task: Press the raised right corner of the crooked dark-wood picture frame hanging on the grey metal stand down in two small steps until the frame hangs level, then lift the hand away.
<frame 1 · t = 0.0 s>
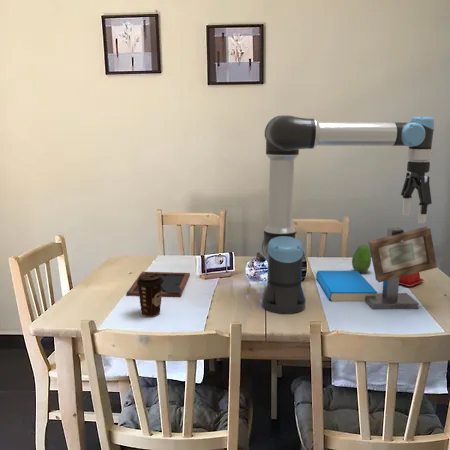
hand: (413, 219, 174), 28 cm above the table, tool pointing down, fingers open, 13 cm apart
coffee cup: (151, 313, 158), on the table
avocado: (360, 272, 203), on the table
picture frame: (402, 254, 160), point 19 cm above the table, hinge at -15.0°
frame stand: (389, 303, 169), on the table
butter dish: (404, 282, 191), on the table
book: (344, 290, 182), on the table
picture frame 2: (160, 286, 186), on the table
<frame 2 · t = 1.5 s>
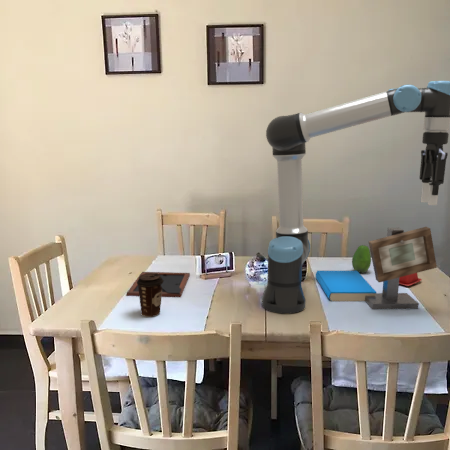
hand: (428, 203, 157), 37 cm above the table, tool pointing down, fingers open, 4 cm apart
book: (343, 290, 183), on the table, touching frame stand
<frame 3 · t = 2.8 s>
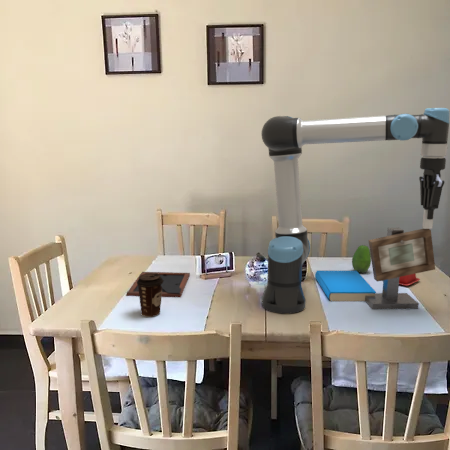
hand: (427, 228, 158), 28 cm above the table, tool pointing down, fingers closed
picture frame: (402, 255, 160), point 19 cm above the table, hinge at -12.2°, touching gripper
book: (343, 290, 183), on the table
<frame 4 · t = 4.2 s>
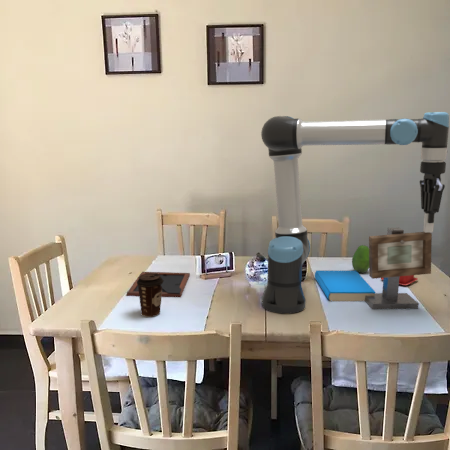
hand: (428, 231, 159), 27 cm above the table, tool pointing down, fingers closed
picture frame: (400, 255, 160), point 19 cm above the table, hinge at -4.8°, touching gripper
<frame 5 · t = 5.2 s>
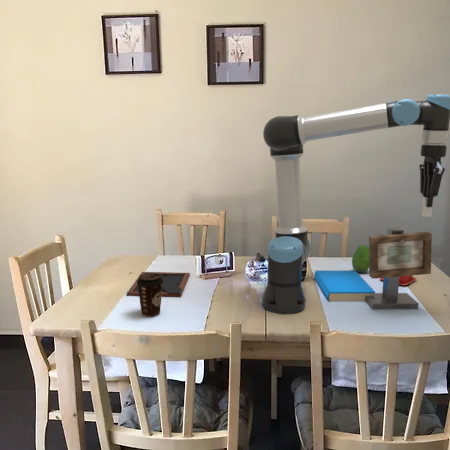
hand: (426, 216, 158), 32 cm above the table, tool pointing down, fingers closed
picture frame: (400, 255, 160), point 19 cm above the table, hinge at -4.6°
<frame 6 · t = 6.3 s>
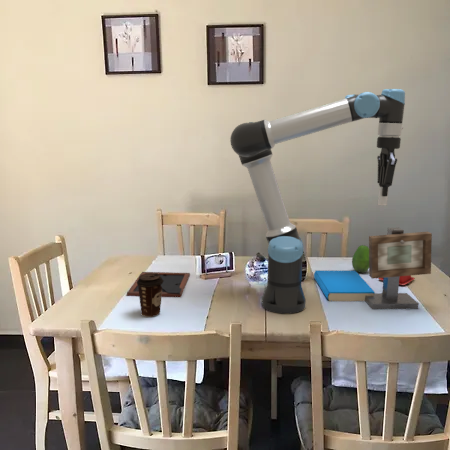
hand: (382, 205, 166), 34 cm above the table, tool pointing down, fingers closed
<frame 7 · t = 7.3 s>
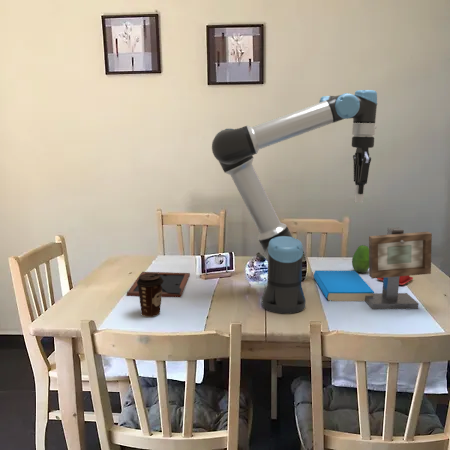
hand: (358, 202, 171), 34 cm above the table, tool pointing down, fingers closed
book: (341, 290, 183), on the table, touching frame stand
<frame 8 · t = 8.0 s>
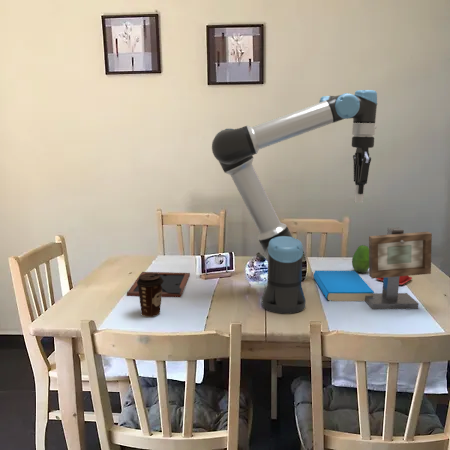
hand: (358, 202, 171), 34 cm above the table, tool pointing down, fingers closed
book: (341, 290, 183), on the table
at the end: picture frame at -5° (first picture: -15°); book moved 1.3 cm from its start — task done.
